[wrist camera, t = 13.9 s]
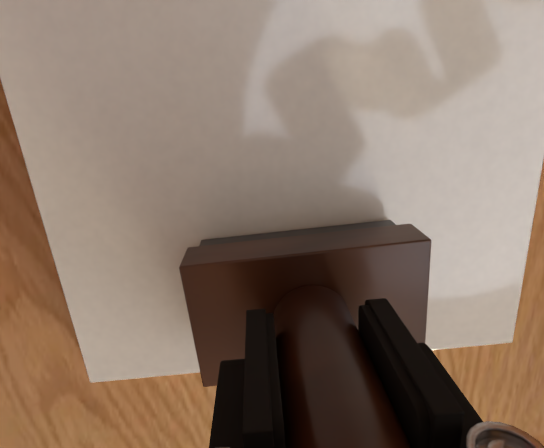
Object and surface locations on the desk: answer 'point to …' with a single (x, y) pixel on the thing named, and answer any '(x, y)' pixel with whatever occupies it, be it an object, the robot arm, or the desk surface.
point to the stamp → (312, 319)
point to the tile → (273, 148)
